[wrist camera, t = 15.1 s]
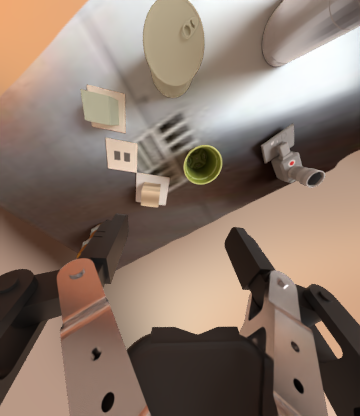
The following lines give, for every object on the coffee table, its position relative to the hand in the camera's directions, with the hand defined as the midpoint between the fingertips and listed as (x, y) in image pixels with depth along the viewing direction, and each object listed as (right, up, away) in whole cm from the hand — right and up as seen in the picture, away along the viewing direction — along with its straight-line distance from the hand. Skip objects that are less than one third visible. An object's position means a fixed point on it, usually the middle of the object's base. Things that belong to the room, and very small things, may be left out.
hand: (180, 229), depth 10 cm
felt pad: (-9, +8, +34) cm, 36 cm away
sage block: (-17, +25, +22) cm, 37 cm away
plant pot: (+5, +16, +30) cm, 34 cm away
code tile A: (-16, +16, +28) cm, 36 cm away
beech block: (-9, +7, +33) cm, 35 cm away
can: (-2, +32, +20) cm, 37 cm away
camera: (+30, +18, +31) cm, 47 cm away
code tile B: (-17, +25, +22) cm, 38 cm away
